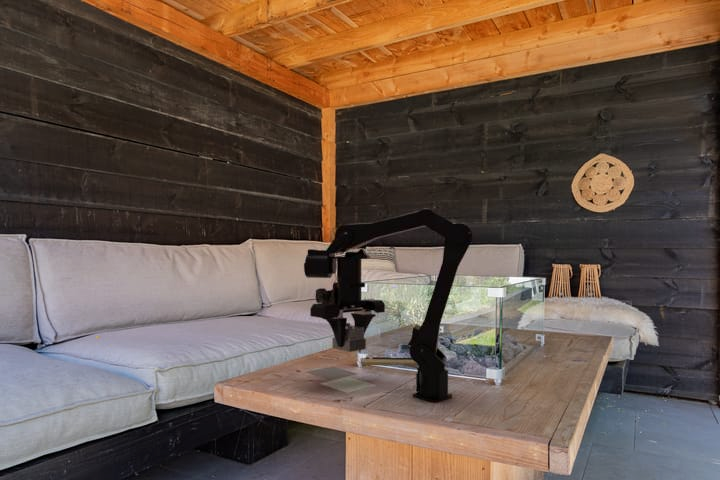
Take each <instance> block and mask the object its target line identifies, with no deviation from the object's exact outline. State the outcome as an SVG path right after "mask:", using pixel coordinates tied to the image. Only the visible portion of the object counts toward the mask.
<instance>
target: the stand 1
mask: <svg viewBox="0 0 720 480" xmlns="http://www.w3.org/2000/svg"><path fill="white" fill-rule="evenodd" d="M306 373H307V374H310V375H313V376H316V377H320V378H322V379H325V380H326V379H327V380H329V381H333V380H337V379H341V378H346V377H350V376H353V375H358V373H357V372H353V371H349V370H346V369H343V368H339V367H336V366H329V367H324V368H319V369H314V370H312V369H311V370H308V371H306Z"/></svg>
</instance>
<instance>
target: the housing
mask: <svg viewBox="0 0 720 480" xmlns="http://www.w3.org/2000/svg"><path fill="white" fill-rule="evenodd" d="M366 339H367V338H365V333H364V327H359V326H354V324H351V323H349V322H346V329H345V336H344V342H343V346H342V347H338V345H337V342H336V339H335V336H334V335H333V337H332V349H335V350H341V351H343V352H349V353H351V352H356V351H363V350H366V349H367V348H366V344H367V343H366V342H367V341H366Z"/></svg>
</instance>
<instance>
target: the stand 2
mask: <svg viewBox="0 0 720 480" xmlns="http://www.w3.org/2000/svg"><path fill="white" fill-rule="evenodd" d="M319 385H322V386H324V387H325V386H326V387H329V388H332V389H335V390H337V391H340V392H343V393H346V394H349V393H354V392H358V391H361V390H362V391H363V390H366V389H370V388H372V387H377V386H378V385H377V384H374V383H370V382H367V381H364V380H360V379H356V378H353V377H350V376H345V377H341V378H336V379H332V380H329V381H325V382H320V383H319Z"/></svg>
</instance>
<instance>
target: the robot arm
mask: <svg viewBox="0 0 720 480" xmlns="http://www.w3.org/2000/svg"><path fill="white" fill-rule="evenodd" d="M424 227H425V228H428V229H429V230H431V231H433V232H434V233H436V234H438V235H439V236H441V237H443V238H444V244H443V254H442V262H441V266H440V269H439V272H438V275H437V279H436V282H435V284H434V288H433V291H432V294H431V297H430V301H429V304H428V307H427V310H426V313H425V316H424V319H423V322H422V323H421V325H419V324H415V325H414V327H412V332H411V333H412V334H411V339H410V340H409V341H408V343H407V346H408V347H409V346H410V347H409V350H408V351H409V355H410V358H412V359H413V360H414V361H415V362H416V363H417V364H418V369H417V373H416V374H415V376H416V377H415V379H416V380H415V382H416V383H415V385H416V386H415V387H416V388H415V391H416V392H414V393H412V397H415V398H417V399H422V400H426V401H428V402H432V403H438V402H440V401H444V400H447V399H450V398H452V397H453V394H452V393H449V370H448V369H446V368H445V367H446V362H447V356H446V355H445V354H444V353H443V351H441V350H440V348H439V347H438V345H439V338H440V337H439V336H440V331H441V330H440V329H441V322H442V319H443V315H444V314H445V313H444V312H445V309H446V306H447V303H448V301H449V297H450V293H451V291H452V288H453V284H454V282H455V278H456V274H457V273H458V269H459V266H460V264H461V262H462V260H463V258H464V257H465V254H467V253H466V252H467V251H468V249H469V248H470V245H471V244H472V242H473V241H472V240H473V232H472V229H470V227H469V226H468V225H466V224H464V223H460V222H459V223H453V222H451V221H450V220H448V219H447V218H445V217H442V216H441V215H440V214H437V213H435V212H434V211H433V210H432V209H431V208H428V207H427V208H426V207H424V208H421V209H420V210H416V211H414V212H413V211H412V212H409V213H405V214H401V215H397V216H394V217H393V216H392V217H390V218H389V217H388V218H386V219H382V220H378V221H374V222H363V223H361V222H360V223H359V222H358V223H356V222H355V223H345V224H342V225H339V226H338V227H337V229H336V231H335V233H334V238H333V240H332V241H331V243H330V244H329V246H328V247H326V249H325V250H323V249H315V248H314V249H313V248H312V249H307V255H306V256H305V261H304V263H303V271H304V275H305V278H307V279H309V278H312V279H313V278H314V279H331V278H332V277H333V275H334V274H335V275H336V282H332V283H333V284H332V289H330V290H329V289H328V290H327V288H325V287H323V288H322V287H321V288H320V287H319V288H318V289H316V290H315V302H316V303H313V304H312V306H311V307H310V317H311V318H312V317H313V318H319V319H322V320H325V321H327V323H328V324H329V325H330V328H331V330H332V332H333V337H334V336H335V339H336V342H337V345H338V347H342V346H343V342H344V336H345V329H346V323H348V322H347V321H348V317H344V314H345V313H346V314H347V313H350V314H351V317H352V320H353V321H354V324H353V326H359V327H364V334H365V333H366V331H367V329H368V327H369V325H370V323H371V322H372V320H373V318H375V317H376V313H377V314H380V313H385V312H386V307H385V303H384V301H383V300H381V299H372V298H367V299H362V288H366V283H365V282H362V260H369V259H370V258H371V256H370V255H369V254H368V253H367V252H366V250H365V249H364V248H361V247H364V246H366V245H368V244H369V243H371V242H374V241H375V240H378V239H380V238H384V237H388V236H392V235H397V234H400V233H404V232H408V231H413V230H416V229H420V228H424ZM359 248H360V249H359ZM356 249H359V250H358V251H348V250H356ZM344 253H345V254H344ZM336 254H344V256H336ZM373 312H374V313H373Z"/></svg>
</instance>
